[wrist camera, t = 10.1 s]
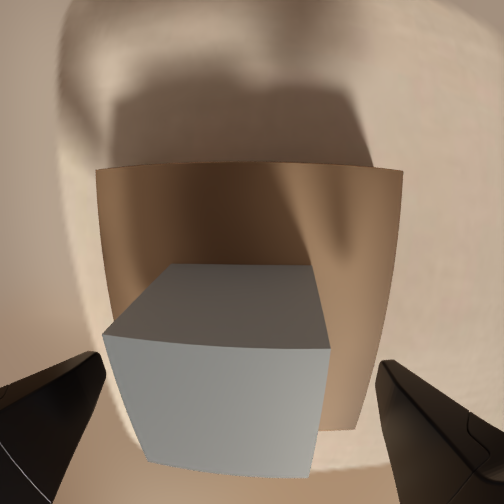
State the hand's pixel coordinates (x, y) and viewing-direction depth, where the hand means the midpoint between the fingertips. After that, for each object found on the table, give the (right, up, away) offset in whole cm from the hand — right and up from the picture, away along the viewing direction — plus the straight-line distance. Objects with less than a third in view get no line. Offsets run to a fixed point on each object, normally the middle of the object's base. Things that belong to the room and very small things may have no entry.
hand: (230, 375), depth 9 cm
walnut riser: (+1, +2, +7) cm, 7 cm away
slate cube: (0, +1, +3) cm, 3 cm away
